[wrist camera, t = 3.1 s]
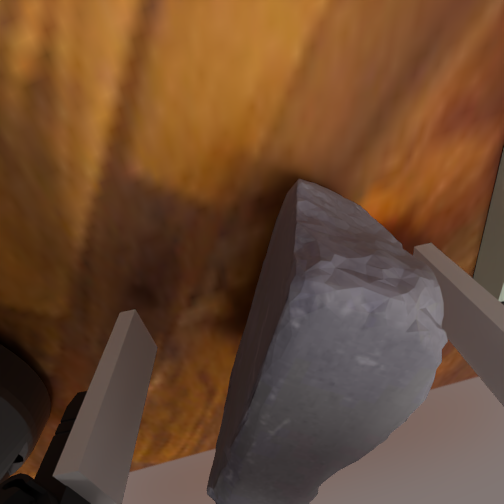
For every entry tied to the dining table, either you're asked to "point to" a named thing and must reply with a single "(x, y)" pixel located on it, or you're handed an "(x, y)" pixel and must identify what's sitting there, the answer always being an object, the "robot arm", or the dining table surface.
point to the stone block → (325, 352)
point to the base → (493, 243)
